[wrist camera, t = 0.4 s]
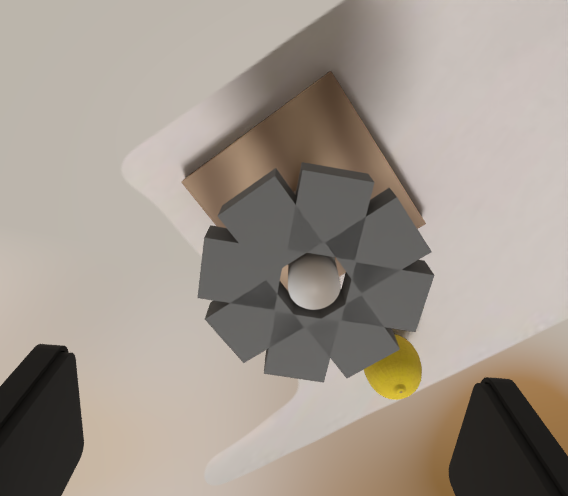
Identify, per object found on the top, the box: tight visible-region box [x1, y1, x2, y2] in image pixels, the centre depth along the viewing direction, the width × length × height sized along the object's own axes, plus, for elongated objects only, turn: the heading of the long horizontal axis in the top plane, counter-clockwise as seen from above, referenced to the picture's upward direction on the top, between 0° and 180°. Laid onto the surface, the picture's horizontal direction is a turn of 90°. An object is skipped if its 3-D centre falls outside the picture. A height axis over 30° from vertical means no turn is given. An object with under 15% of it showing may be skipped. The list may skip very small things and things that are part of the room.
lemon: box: [364, 334, 422, 399], centre depth 45 cm, size 6×6×8 cm
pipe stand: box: [182, 71, 426, 310], centre depth 34 cm, size 16×16×18 cm
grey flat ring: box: [198, 162, 434, 382], centre depth 27 cm, size 13×13×2 cm
